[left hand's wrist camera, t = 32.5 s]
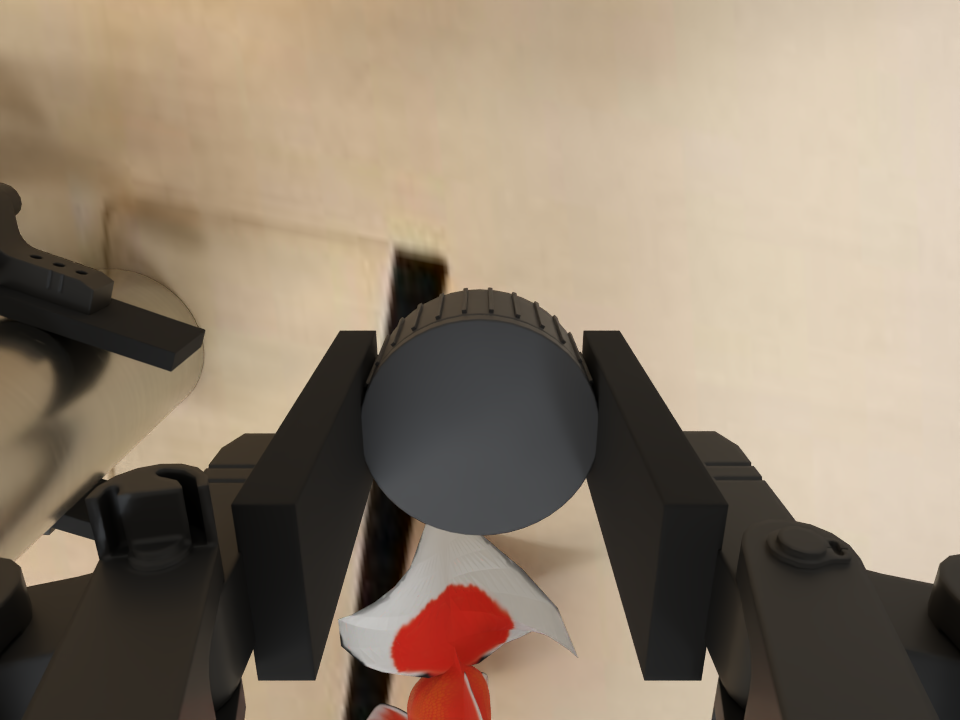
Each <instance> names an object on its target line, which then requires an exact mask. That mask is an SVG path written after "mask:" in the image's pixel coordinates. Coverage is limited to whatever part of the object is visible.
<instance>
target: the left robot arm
mask: <svg viewBox="0 0 960 720" xmlns="http://www.w3.org/2000/svg"><path fill="white" fill-rule="evenodd" d="M582 355H583V358H584V360H585V363H586V365H587V367H588V370H589V372H590V375H591V377H592V379H593V382H594V384H591V386H592V388H593V391H594V394H595V397H596V400H597V404H598V427H597V442H596V455H595V460H594V463H593V465H592V467H591V469H590V472H589V474H588V476H587V477H586V479H587V482H588V486H589V489H590V493H591V496H592V500H593V503H594V507H595V510H596V514H597V517H598V521H599V524H600V528H601V531H602V535H603V538H604V542H605V545H606V549H607V552H608V556H609V559H610V563H611V566H612V570H613V573H614V577H615V580H616V583H617V587H618V590H619V594H620V597H621V601H622V604H623V608H624V611H625V615H626V618H627V622H628V625H629V629H630V632H631V636H632V639H633V643H634V646H635V650H636V653H637V657H638V660H639V664H640V667H641V671H642V674H643V678H644V680H701V679H702V673H703V666H704V660H705V654H706V647H707V649H708V651H709V653H710V656H711V658H712V660H713V663H714V665H715V668H716V670H717V672H718V675H719V678H718V684H717V690H716V696H715V702H714V708H713V714H712V720H960V554H958V555H952V556H949V557H948V558H946V559H945V560H944V561H943V562H942V563H940V565H939V568H938V572H937V575H936V578H935V582H934V584H931V583H926V582H921V581H916V580H911V579H905V578H900V577H895V576H890V575H885V574H881V573H877V572H873V571H869V570H866V569H865V567H864V565H863V563H862V561H861V559H860V557H859V556H858V555H857V554H856V553H855V551H854V550H853V549H852V548H851V546H850V545H849V544H847V543H846V542H844V541H843V540H841V539H840V538H838V537H837V536H835V535H834V534H832V533H830V532H828V531H825V530H823V529H820V528H818V527H816V526H813V525H811V524H806V523H801V522H797V521H795V519H794V518H793V517H792V515H791V514H790V513H789V511H788V510H787V509H786V508H785V506H784V505H783V504H782V502H781V501H780V500H779V498H778V497H777V496H776V495H775V493H774V492H773V491H772V489H771V488H770V487H769V485H768V484H767V483H766V481H765V480H762V476H761V475H760V474H759V472H758V471H757V470H756V468H755V467H754V466H751V462H750V461H749V459H748V458H747V457H746V455H745V454H744V453H743V451H742V450H741V449H740V447H739V446H738V445H736V444H735V443H733V442H731V441H730V440H728V439H727V438H725V437H723V436H722V435H720V434H718V433H717V432H715V431H682V430H681V428H680V426H679V425H678V423H677V422H676V420H675V418H674V417H673V415H672V414H671V412H670V410H669V409H668V407H667V406H666V404H665V402H664V401H663V399H662V398H661V396H660V395H659V393H658V391H657V390H656V388H655V387H654V385H653V383H652V382H651V380H650V379H649V377H648V375H647V374H646V372H645V371H644V369H643V367H642V366H641V364H640V363H639V361H638V359H637V358H636V356H635V355H634V353H633V351H632V350H631V348H630V347H629V345H628V343H627V342H626V340H625V339H624V337H623V336H622V334H621V332H620V331H584V333H583V350H582ZM376 357H377V340H376V331H340V332H339V333H338V335H337V336H336V338H335V340H334V341H333V343H332V344H331V346H330V348H329V349H328V351H327V352H326V354H325V356H324V357H323V359H322V360H321V362H320V364H319V365H318V367H317V368H316V370H315V371H314V373H313V375H312V376H311V378H310V379H309V381H308V383H307V384H306V386H305V387H304V389H303V391H302V392H301V394H300V395H299V397H298V399H297V400H296V402H295V403H294V405H293V407H292V408H291V410H290V411H289V413H288V414H287V416H286V418H285V419H284V421H283V422H282V424H281V426H280V427H279V429H278V430H277V432H276V434H243V435H242V436H240V437H239V438H237V439H235V440H234V441H232V442H231V443H229V444H227V445H226V446H224V447H223V448H221V450H220V451H219V452H218V454H217V455H216V456H215V458H214V459H213V460H212V461H211V463H210V464H209V468H206V469H205V471H204V472H203V471H202V470H200V469H199V468H198V467H193V466H189V465H185V464H158V465H152V466H147V467H142V468H137V469H134V470H131V471H128V472H126V473H123V474H120V475H117V476H115V477H113V478H111V479H109V480H108V481H106V482H104V483H102V484H101V485H99V486H97V487H96V488H95V489H94V490H93V491H92V492H91V493H90V494H89V495H88V496H87V497H86V498H85V503H86V507H87V511H88V515H89V519H90V523H91V527H92V531H93V535H94V539H95V543H96V547H97V551H98V555H99V559H100V560H99V562H98V564H97V566H96V568H95V570H94V572H93V573H91V574H87V575H83V576H79V577H74V578H69V579H64V580H59V581H54V582H49V583H44V584H39V585H34V586H29V587H26V583H25V580H24V577H23V573H22V570H21V567H20V566H19V565H17V564H16V563H15V562H14V561H13V560H11V559H7V558H1V557H0V720H244V718H245V710H246V704H245V697H244V690H243V684H242V678H241V677H242V675H243V672H244V670H245V668H246V665H247V663H248V660H249V658H250V656H251V653H252V651H253V650H254V656H255V663H256V669H257V676H258V680H315V679H316V676H317V673H318V669H319V666H320V662H321V659H322V655H323V652H324V648H325V645H326V641H327V638H328V634H329V631H330V627H331V624H332V620H333V617H334V613H335V610H336V606H337V603H338V599H339V596H340V592H341V589H342V585H343V582H344V579H345V575H346V572H347V568H348V565H349V561H350V558H351V554H352V551H353V547H354V544H355V540H356V537H357V533H358V530H359V526H360V523H361V519H362V516H363V512H364V509H365V505H366V502H367V498H368V495H369V491H370V488H371V484H372V481H373V476H372V475H371V473H370V470H369V468H368V466H367V464H366V462H365V458H364V448H363V434H362V420H361V405H362V402H363V399H364V395H365V392H366V390H367V388H366V387H365V384H366V381H367V379H368V376H369V374H370V371H371V369H372V367H373V364H374V362H375V359H376Z"/></svg>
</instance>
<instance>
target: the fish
mask: <svg viewBox="0 0 960 720" xmlns="http://www.w3.org/2000/svg"><path fill="white" fill-rule="evenodd" d="M338 622H339V631H340V640H341V646H342V647H343V648H344V649H345V650H346V651H348V652H349V653H350V654H351V655H352V656H353V657H355V658H356V659H357V660H358V661H359V662H360V663H362V664H363V665H364V666H367V667H370V668H373V669H375V670H378V671H381V672H386V673H392V674H399V675H407V676H415V677H421V679H420V680H419V681H418V682H417V683H416V684H415V686H414V687H413V689H412V691H411V693H410V696H409V700H408V705H407V713H406V712H405V711H403V710H401V709H399V708H397V707H394V706H391V705H388V704H384V703H380V704H378V705H377V706H376V707H375V708H374V709H373V711H372V712H371V714H370V715H369V717H368V718H367V720H491V708H490V695H489V690H488V677H487V675H486V674H485V673H484V672H480V671H479V670H478V669H476V668H475V667H473V666H472V665H474V664H478V663H480V662H481V661H483V660H484V659H485V658H486V657H488V656H489V655H490V654H492V653H493V652H494V651H496V650H497V649H498V648H500V647H501V646H502V645H503V644H505V643H507V642H509V641H512V640H514V639H517V638H519V637H521V636H523V635H525V634H527V633H529V632H531V631H533V632H537V633H541V634H544V635H547V636H548V637H550V638H552V639H553V640H555V641H557V642H558V643H560V644H561V645H563V646H564V647H565V648H567V649H568V650H570V651H571V652H572V653H573V654H574V655H575V656H576V657H577V654H576V652H575V649H574V647H573V644H572V642H571V639H570V637H569V635H568V632H567V630H566V627H565V625H564V622H563V620H562V617H561V615H560V613H559V610H558V608H557V607H556V606H555V605H554V604H553V602H552V601H551V600H550V599H549V598H548V597H547V596H546V595H545V594H544V593H543V591H542V590H541V589H540V588H539V587H538V586H537V585H536V584H535V583H534V582H533V580H532V579H531V578H530V577H529V576H528V575H527V574H526V573H525V572H524V570H523V569H521V568H520V567H519V566H518V565H517V564H516V563H514V562H513V561H512V560H511V559H510V558H508V557H507V556H506V555H505V554H504V553H502V552H501V551H500V550H499V549H498V548H497V547H495V546H494V545H493V544H492V543H491V542H490V541H488V540H487V539H486V538H485V537H484V536H483V535H464V534H458V533H452V532H448V531H444V530H441V529H437V528H435V527H432V526H430V525H427V524H426V525H425V528H424V531H423V533H422V536H421V539H420V542H419V544H418V547H417V550H416V553H415V556H414V559H413V561H412V564H411V567H410V569H409V570H408V571H407V572H406V574H405V575H404V576H403V577H402V579H401V580H400V581H399V582H398V584H397V585H396V586H395V587H394V588H393V589H391V590H390V591H389V592H387V593H386V594H385V595H384V596H382V597H381V598H380V599H379V600H377V601H376V602H375V603H373V604H371V605H369V606H367V607H366V608H364V609H362V610H360V611H358V612H356V613H354V614H352V615H350V616H347V617H344V618H341V619H338ZM577 658H578V657H577Z"/></svg>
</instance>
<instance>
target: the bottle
mask: <svg viewBox="0 0 960 720" xmlns="http://www.w3.org/2000/svg"><path fill="white" fill-rule="evenodd" d="M98 271H101V272H103V273H104V274H105V275H107V276H108V277H109V278H111V279H112V280H113V281H114V286H113V291H112V296H111V298H113V299H116V300H119V301H122V302H125V303H128V304H131V305H134V306H137V307H140V308H143V309H146V310H148V311H151V312H154V313H157V314H160V315H163V316H166V317H169V318H172V319H175V320H178V321H181V322H184V323H187V324H190V325H193V326H195V327H198V326H197V324H196V322H195V320H194V318H193V316H192V315H191V313H190V312H189V310H188V309H187V307H186V306H185V305H184V304H183V302H182V301H181V300H180V299H179V298H178V297H177V296H176V295H175V294H174V293H173V292H171V291H170V290H169V289H167V288H166V287H165V286H163V285H162V284H160V283H159V282H157V281H155V280H153V279H151V278H149V277H147V276H145V275H142V274H139V273H136V272H132V271H127V270H122V269H100V270H98ZM203 359H204V352H203V343H202V346H201V348H199V349H198V350H197V351H196V352H195V353H193V354H192V355H191V356H190V357H189V358H187V359H186V360H185V361H184V362H182V363H181V364H180V365H179V366H178V367H176V368H175V369H174V370H173V371H172V372H170V371H167V370H164V369H161V368H158V367H155V366H152V365H149V364H146V363H143V362H140V361H137V360H134V359H131V358H128V357H125V356H122V355H119V354H115V353H112V352H109V351H106V350H103V349H100V348H97V347H94V346H91V345H88V344H85V343H82V342H79V341H76V340H73V339H70V338H67V337H64V336H61V335H58V334H55V333H52V332H49V331H46V330H43V329H40V328H37V327H34V326H31V325H28V324H25V323H22V322H19V321H16V320H13V319H10V318H7V317H4V316H1V315H0V557H1V558H7V559H11V560H13V561H14V562H15V561H16V560H17V559H18V558H19V557H20V556H21V555H22V554H23V553H24V552H25V551H26V550H27V549H28V548H29V547H31V546H32V545H33V544H34V543H35V542H36V541H37V540H38V539H39V538H40V537H41V536H42V535H43V534H44V533H45V532H46V531H47V530H48V529H49V528H50V527H51V526H52V525H53V524H55V523H56V522H57V521H58V520H59V519H60V518H61V517H62V516H63V515H64V514H65V513H66V512H67V511H68V510H69V509H70V508H71V507H72V506H73V505H74V504H75V503H76V502H78V501H79V500H80V499H81V498H82V497H83V496H84V495H85V494H86V493H87V492H88V491H89V490H90V489H91V488H92V487H93V486H94V485H95V484H96V483H97V482H98V481H99V480H100V479H102V478H103V477H104V476H105V475H106V474H107V473H108V472H109V471H110V470H111V469H112V468H113V467H114V466H115V465H116V464H117V463H118V462H119V461H120V460H121V459H122V458H123V457H125V456H126V455H127V454H128V453H129V452H130V451H131V450H132V449H133V448H134V447H135V446H136V445H137V444H138V443H139V442H140V441H141V440H142V439H143V438H144V437H145V436H146V435H148V434H149V433H150V432H151V431H152V430H153V429H154V428H155V427H156V426H157V425H158V424H159V423H160V422H161V421H162V420H163V419H164V418H165V417H166V416H167V415H168V414H169V413H170V412H172V411H173V410H174V409H175V408H176V407H177V406H178V405H179V404H180V403H181V402H182V401H183V400H184V399H185V398H186V397H187V396H188V395H189V394H190V393H191V391H192V390H193V389H194V387H195V386H196V384H197V382H198V380H199V377H200V375H201V371H202V367H203Z"/></svg>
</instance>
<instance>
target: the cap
mask: <svg viewBox="0 0 960 720" xmlns="http://www.w3.org/2000/svg"><path fill="white" fill-rule="evenodd" d="M591 384H594V382H593V379H592V377H591V375H590V372H589V370H588V367H587V365H586V363H585V360H584V358H583V355H582V353H581V352H579V351H578V348H577V346H576V343H575V341H574V339H573V336H572V334H571V333H570V332H569V333H567V332H566V330H565V329H564V328H563V327H562V326H561V325H560V324H559V321H558V318H557V317H556V316H555V315H554V316H553V317H552V316H551V315H550V314H549V313H548V312H547V311H545V310H544V309H542V308H540V307H539V304H538V303H537V302H536V301H535V302H534V303H532V302H530V301H528V300H526V299H524V298H522V297H519V296H517V294H516V293H514V292H512V294H510V293H506V292H500V291H495V290H492V288H488V290H481V289H478V290H468V288H464V290H463V291H459V292H454V293H450V294H447V295H444V293H442V294H440V296H439V297H438V298H436V299H434V300H431V301H429V302H427V303H425V304H424V305H423V304H422V303H421V304H419V305H418V307H417V309H416V310H415V311H413V312H412V313H411V314H410V315H408V316H407V317H406V318H405V319H404V318H403V317H402V318H401V319H400V321H399V324H398V326H397V328H396V329H395V330H394V331H393V333H392V334H391V336H389V335H387V336H386V338H385V341H384V343H383V346H382V348H381V350H380V353H379V355H377V357H376V359H375V362H374V364H373V367H372V369H371V371H370V374H369V376H368V379H367V381H366V384H365V387H366V388H367V390H366V392H365V395H364V399H363V402H362V405H361V420H362V434H363V448H364V458H365V462H366V464H367V466H368V468H369V470H370V473H371V475H372V476H373V478H374V479H375V481H376V483H377V484H378V486H379V487H380V488H381V490H382V491H383V492H384V493H385V494H386V496H387V497H388V498H389V499H390V500H391V501H392V502H393V503H395V504H396V505H397V506H398V507H399V508H400V509H402V510H403V511H404V512H406V513H407V514H409V515H410V516H412V517H414V518H415V519H417V520H419V521H421V522H423V523H425V524H427V525H430V526H432V527H435V528H437V529H441V530H444V531H448V532H452V533H458V534H464V535H496V534H502V533H508V532H512V531H515V530H519V529H522V528H525V527H527V526H530V525H532V524H535V523H537V522H539V521H541V520H542V519H544V518H546V517H548V516H550V515H551V514H552V513H554V512H555V511H556V510H558V509H559V508H561V507H562V506H563V505H564V504H565V503H566V502H567V501H568V500H569V499H570V498H571V497H572V496H573V495H574V494H575V493H576V491H577V490H578V489H579V488H580V487H581V485H582V483H583V482H584V480H585V479H586V477H587V476H588V474H589V472H590V469H591V467H592V465H593V463H594V460H595V455H596V442H597V427H598V404H597V400H596V397H595V394H594V391H593V388H592V386H591Z"/></svg>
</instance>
